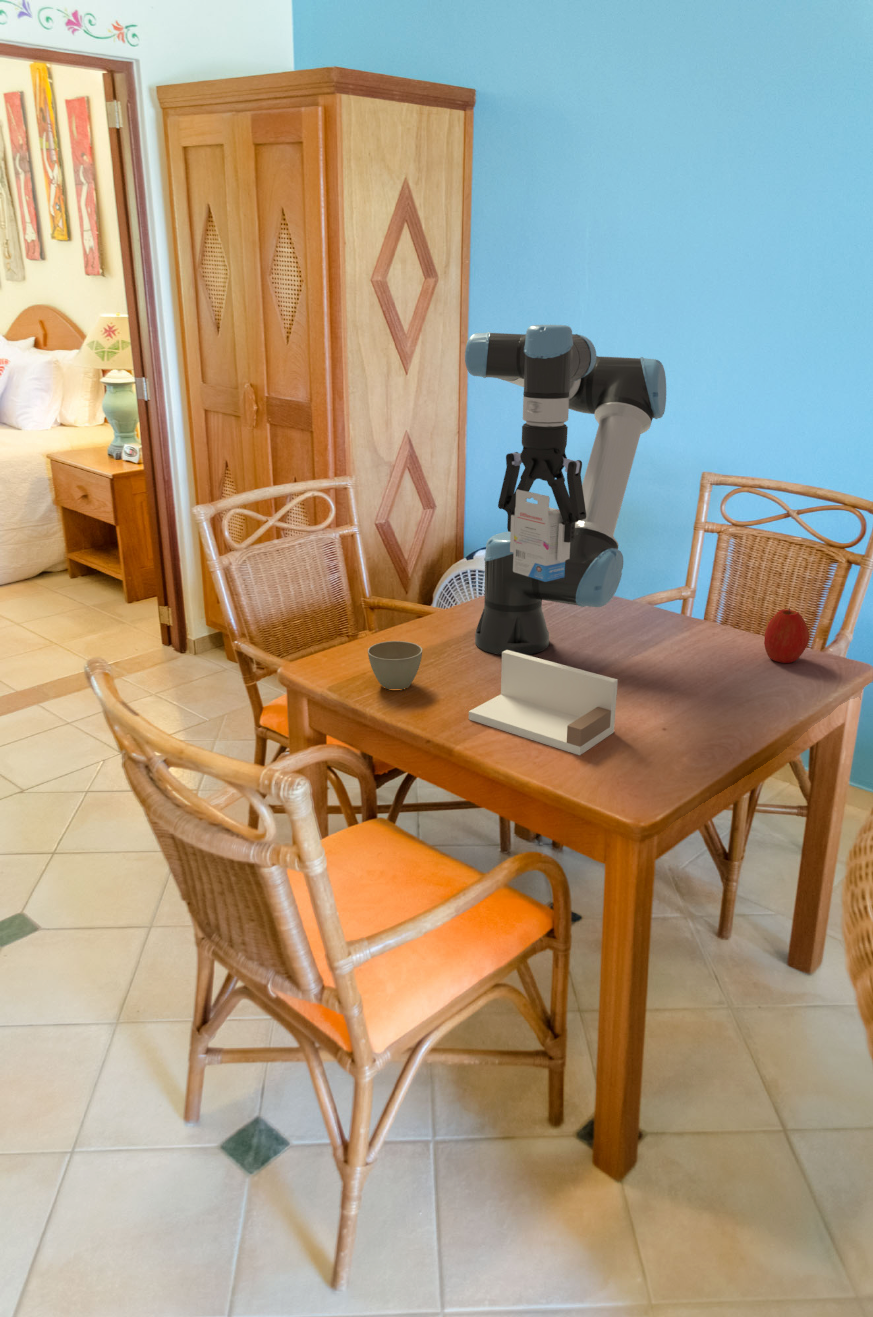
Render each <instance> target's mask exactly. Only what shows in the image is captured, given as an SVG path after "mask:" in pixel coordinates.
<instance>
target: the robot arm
mask: <svg viewBox="0 0 873 1317" xmlns="http://www.w3.org/2000/svg"><path fill="white" fill-rule="evenodd" d="M464 361H465V362H464V364H465V367H466V370H467V371H468V373H469V374H470V375H471V376H474V377H481V378H484V379H487V378H491V379H492V378H494V379H498V380H501V381H504V382H508V383H510V384H514V385H517V386H519V387H522V388H523V396H522V397H523V399H522V400H523V401H522V420H523V421H524V422H525V423H523V425H521V446H522V451H521V452H518V451H514V452H509V453H506V456H505V461H506V462H505V463H506V468H505V472H504V476H503V480H502V486H501V489H500V494H499V499H498V503H497V508H498V509H499V510H504V511H505V512H506V513H507V525H506V526H507V528H506V529H507V531H503V532H500V533H497V534H494V535H492V536H491V537H489V538H488V540H487V541H486V544H485V553H484V554H485V556H484V557H483V559H484V560H483V561H484V605H483V610H482V613H481V615H480V618H479V621H478V623H477V627H476V629H475V633H474V637H475V638H474V643H475V645H476V647H477V648H478V649H481V650H482V651H483V652H484V651H485V652H487V653H491V654H495V655H499V656H500V655H501V656H502V652H503V651H505V650H510V651H513V652H517V653H521V654H525V655H528V656H531V655H533V654H538V653H541V652H543V651H544V650H546V649H547V648H548V647H549V645H550V632H549V630H548V627H547V623H546V622H547V621H546V618H545V615H544V612H543V607H542V606H543V601H545V602H546V601H547V602H554V603H561V604H567V605H574V606H578V607H580V608H585V607H588V608H589V607H591V608H602V607H604V606H606V605H607V604H608V603H609V602H610V601H612V599H613V597H614V595H616V592H617V590H618V587H619V585H620V583H621V579H622V575H623V573H622V572H623V569H624V556H623V553H622V551H621V550H620V549H619V543H618V541H617V539H616V537H615V536H614V535H615V531H616V527H617V524H618V519H619V517H620V516H619V515H620V513H621V509H622V508H621V507H622V505H623V501H624V498H625V493H626V490H627V487H628V482H629V479H630V478H629V477H630V475H631V470H632V467H633V464H634V459H635V456H636V452H637V448H638V445H639V442H640V438H641V434H644V433H646V432H647V431H649V429H650V428H651V425H652V422H653V419H655V420H658V419H662V417H663V416H664V415H665V412H666V406H667V405H666V404H667V378H666V377H667V376H666V371H665V367H664V365H663V362H661V361H660V360H659V359H657V358H655V359H654V358H646V357H643V356H640V357H637V358H636V357H622V356H621V357H618V356H598V355H597V351H596V347H595V345H594V344H593V342H592V341H591V340H590V339H589V338H588V337H587V336H584V335H581V334H578V333H575V334H574V333H573V329H572V328H571V327H570V326H569V325H565V324H564V325H563V324H532V325H530V326H529V327H528V328H527V329H526V333H523V334H522V333H521V334H520V333H504V332H503V333H501V332H500V333H499V332H491V331H488V332H476V333H473V334H471V335H470V337H469V338H468V340H467V342H466V345H465V352H464ZM570 410H571V411H575V412H578V413H582V414H589V415H590V414H591V415H594V419H595V421H596V422H597V423H598V426H597V427H598V428H597V431H596V434H595V438H594V441H593V445H592V449H591V453H590V456H589V459H588V463H587V467H586V469H585V474H584V478H583V481H582V474H581V473H582V468H583V462H582V460H580V459H577V460H573V459H570V458H568V457H567V454H566V448H567V445H568V428H569V427H568V426H567V424H565V423H566V422H567V421H568V420H569V411H570ZM522 465H523V467H524V469H523V471H522V473H521V476H520V480H519V483H518V485H517V482H518V479H519V474H520V470H521V466H522ZM563 469H564V472H565V473H566V479H565V476H564V473H563V471H562V470H563ZM537 479H540V480H541V481H545V482H546V483H547V485H548V486H549V487H550V489H551V491H552V494H553V497H554V499H555V502H556V505H557V509H558V510H559V511H560V514H561V516H562V519H563V522H561V523H559V532H558V553H557V561H558V562H562V561H565V576H564V578H559V579H555V580H551V581H547V582H544V581H541V580H538V579H535V578H531V577H528V576H525V575H522V574H519V573H515V572H513V554H514V524H515V507H516V491H517V489H519V490H522V491H527V492H530V490H531V488H532V486H533V484H534V482H535V481H536V480H537ZM565 481H567V486H566V484H565V483H566V482H565ZM567 489H568V490H567Z"/></svg>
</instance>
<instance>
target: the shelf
mask: <svg viewBox="0 0 873 1317" xmlns="http://www.w3.org/2000/svg"><path fill="white" fill-rule="evenodd" d="M500 677H501V678H500V679H501V680H500V694H498V695H497V696H495V697H493V698H491V699H489V700H487V701H485V702H484V703H482V704H480V705H478V706H476V707H475V708H471V710H469V711H468V720H470V721H472V722H476V723H478V724H482V725H485V726H489V727H491V728H494V729H497V730H500V731H504V732H507V733H510V734H513V735H516V736H519V737H521V738H523V739H524V738H525V739H528V740H531V741H534V742H537V743H541V744H543V745H547V746H549V747H552V748H556V749H559V750H561V751H565V752H569V753H571V754H573V755H576V756H581V755H583V754H584V753H585V752H587V751H589V750H590V749H592V748H593V747H595V746H596V745H597V744H599V743H600V742H601V741H603V740H604V739H606V738H608V737H609V736H610V735H612V734H613V733H614V732H615V723H616V709H617V708H616V707H617V696H618V695H617V692H618V681H619V679H617V678H614V677H610V676H607V675H603V674H598V673H595V672H592V671H591V672H590V671H587V670H584V669H580V668H576V667H574V666H573V667H572V666H570V665H564V664H562V663H559V662H558V663H557V662H555V661H550V660H547V659H542V658H538V657H535V656H532V655H525V654H521V653H517V652H513V651H510V650H505V651H503V652H502V655H501V675H500Z"/></svg>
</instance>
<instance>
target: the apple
mask: <svg viewBox="0 0 873 1317" xmlns="http://www.w3.org/2000/svg"><path fill="white" fill-rule="evenodd" d="M790 608H791V607H789V608H788V609H786V608H785V609H780V610H779V611H777V612H776V613H775V614H774V615H773V617H772V618H771V619H770V620H769V622H768V623H767V627H766V629H765V632H764V640H763V644H764V649H765V652H766V655H767V656H768V657H769V659H770V660H772V661H774V662H777V663H782V664H791V663H792V662H795V661H797V660H798V659H799V658H800V657H801V656H802V655H803V653H804V651H805V650H806V649H807V646H808V643H809V641H810V633H809V632H810V631H809V627H808V626H807V623H806V621H805V619H804V617H803V616H802V614H800V613H799V611H796V610H792V609H790Z"/></svg>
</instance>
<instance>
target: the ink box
mask: <svg viewBox="0 0 873 1317" xmlns="http://www.w3.org/2000/svg"><path fill="white" fill-rule="evenodd" d="M516 489H517V488H516ZM515 491H516V490H515ZM527 499H529V500H531V499H533V500H535V501H537V503H532V502H530V501H529V502H528V501H527ZM561 522H563V519H562V516H561V514H560V511H559V508H553V507H550V496H549V495H544V494H540V493H536V492H531V491H529V492H527V491H522V490H519V489H517V491H516V507H515V524H514V554H513V572H515V573H519V574H522V575H525V576H528V577H531V578H535V579H538V580H541V581H544V582H547V581H551V580H555V579H559V578H564V576H565V561H562V562H558V561H557V553H558V532H559V523H561Z"/></svg>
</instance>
